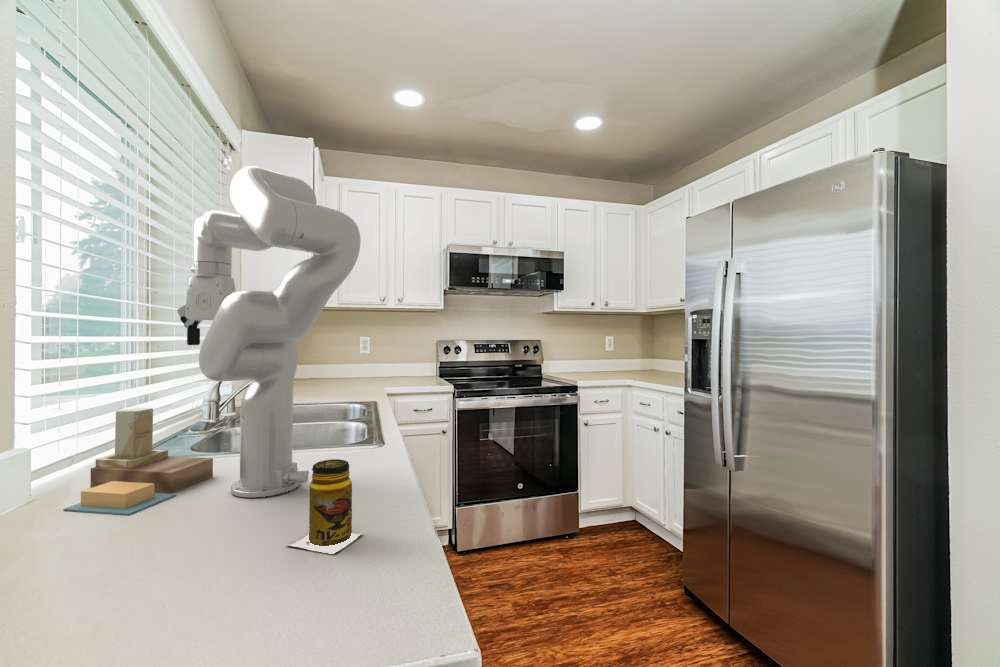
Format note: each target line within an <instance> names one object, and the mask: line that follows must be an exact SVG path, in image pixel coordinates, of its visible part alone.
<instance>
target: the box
mask: <svg viewBox="0 0 1000 667" xmlns="http://www.w3.org/2000/svg"><path fill="white" fill-rule="evenodd" d="M153 424H154V408H153V407H132V408H127V409H121V410H117V411H115V426H114V427H115V430H114V432H115V434H114V454H115V459H125V460H132V459H135V458H139V457H142V456H146V455H149V454H152V450H153V438H154V437H153V432H154V431H153V430H154V429H153V428H154V426H153Z"/></svg>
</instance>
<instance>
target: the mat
mask: <svg viewBox="0 0 1000 667" xmlns="http://www.w3.org/2000/svg"><path fill="white" fill-rule="evenodd" d="M176 496H177V493H157V492H154V497H153V498H150V499H148V500H145V501H143V502H140V503H137V504H135V505H132V506H130V507H127V508H112V507H98V506H84V505H81V502H79V503H76V504H74V505H71V506H68V507H64V508H63V509H62V511H63V510H67V511H66V512H77V513H92V514H105V515H106V514H107V515H120V516H121V515H122V516H130V515H132V514H136V513H137V512H141V511H143V510H146V509H149V508H150V507H152V506H155V505H157V504H159V503H162V502H164V501H167V500H169V499H172V498H174V497H176Z"/></svg>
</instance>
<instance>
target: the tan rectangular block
mask: <svg viewBox="0 0 1000 667" xmlns="http://www.w3.org/2000/svg"><path fill="white" fill-rule="evenodd" d="M154 493H155V492H154V484H153V483H137V482H120V481H111V482H108V483H105V484H102V485H99V486H96V487H93V488H90V487H89V488H87V489H84V490H81V491H80V503H81V505H84V506H98V507H112V508H127V507H130V506H132V505H135V504H137V503H140V502H143V501H145V500H148V499H150V498H153V497H154Z"/></svg>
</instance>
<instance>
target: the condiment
mask: <svg viewBox="0 0 1000 667" xmlns="http://www.w3.org/2000/svg"><path fill="white" fill-rule="evenodd" d="M311 470H312V474H311V482H310V484H309V500H308V501H309V508H308V510H309V514H308V516H309V518H308V520H309V521H308V525H309V526H308V528H309V530H308V531H309V532H308V533H309V540H310V543H312V544H314V545H319V546H329V545H335V544H338V543H341V542H344V541H346V540H347V539H349V538H350V536H351V533H352V532H353V525H352V524H353V521H352V519H353V513H352V512H353V504H352V503H353V501H352V500H353V489H352V488H353V486H352V484H353V481H352V479H351V478H350V464H349V462H348V461H347V460H344V459H336V458H334V459H324V460H320V461H318V462H315V463H314V464H312V469H311Z"/></svg>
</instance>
